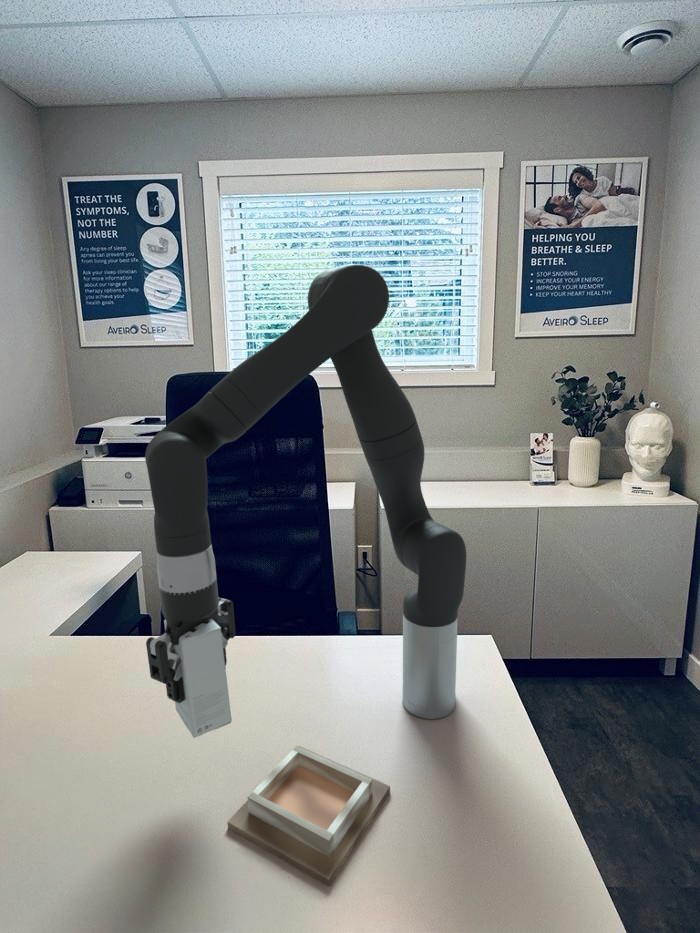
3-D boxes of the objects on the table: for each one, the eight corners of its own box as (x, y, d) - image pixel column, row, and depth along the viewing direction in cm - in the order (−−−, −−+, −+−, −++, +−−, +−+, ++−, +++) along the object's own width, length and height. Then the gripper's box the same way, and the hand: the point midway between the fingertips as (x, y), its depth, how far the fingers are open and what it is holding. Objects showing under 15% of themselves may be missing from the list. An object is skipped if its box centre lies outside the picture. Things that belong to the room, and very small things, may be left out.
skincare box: (232, 723, 78) (225, 628, 74) (190, 741, 74) (181, 642, 71) (211, 693, 84) (203, 605, 81) (171, 708, 81) (162, 616, 78)
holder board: (299, 751, 86) (298, 731, 86) (390, 792, 78) (390, 771, 77) (227, 827, 73) (226, 805, 72) (328, 886, 65) (328, 862, 64)
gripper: (164, 607, 67) (178, 723, 70) (244, 564, 78) (252, 665, 82) (124, 593, 70) (140, 705, 74) (206, 554, 82) (215, 652, 86)
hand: (199, 684), depth 78 cm, fingers closed on skincare box, 7 cm apart
